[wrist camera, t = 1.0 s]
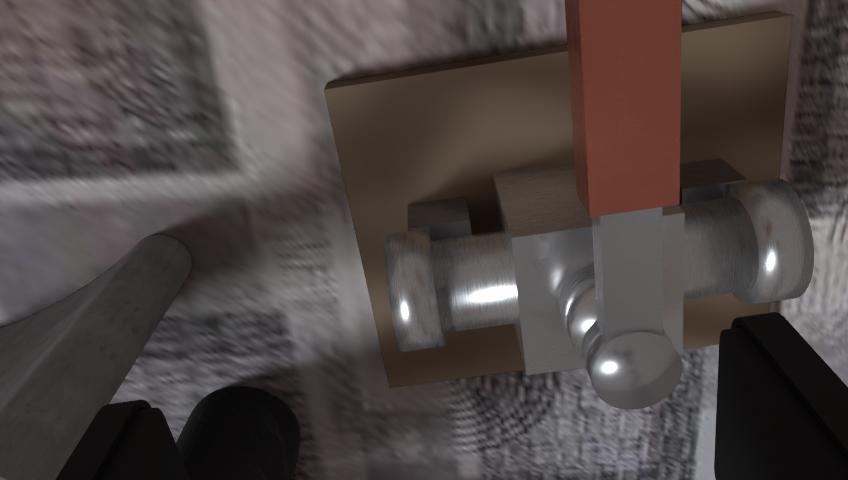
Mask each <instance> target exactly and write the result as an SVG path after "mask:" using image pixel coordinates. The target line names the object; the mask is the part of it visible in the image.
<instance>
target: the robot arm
mask: <svg viewBox="0 0 848 480" xmlns="http://www.w3.org/2000/svg"><path fill="white" fill-rule="evenodd" d="M714 470H715V478H716V480H848V387H847V386H846V385H845V384H844V383H843V382H842V380H841V379H840V378H839V377H838V376H837V375H836V374H835V373H834V372H833V371H832V369H831V368H830V367H829V366H828V365H827V364H826V363H825V362H824V361H823V360H822V358H821V357H820V356H819V355H818V354H817V353H816V352H815V351H814V350H813V348H812V347H811V346H810V345H809V344H808V343H807V342H806V341H805V340H804V339H803V337H802V336H801V335H800V334H799V333H798V332H797V331H796V330H795V329H794V328H793V326H792V325H791V324H790V323H789V322H788V321H787V320H786V319H785V318H784V317H783V316H782V315H781V314H780V313H777V312H772V313H765V314H758V315H750V316H743V317H737V318H735V319H734V320H733V322H732V324H731V329H724V330H722V331H721V334H720V341H719V365H718V389H717V414H716V438H715V462H714ZM55 480H191V479H190V476H189V474H188V472H187V469H186V467H185V464H184V462H183V460H182V457H181V455H180V452H179V450H178V448H177V445H176V443H175V441H174V438H173V436H172V433H171V431H170V429H169V426H168V424H167V422H166V419H165V417H164V415H163V413H162V411H161V410H160V409H159V408H151V406H150V404H149V403H148V402H147V401H145V400H136V401H129V402H122V403H114V404H107V405H105V406H103V407H102V408H101V409H100V410H99V411H98V412H97V414H96V416H95V417H94V419H93V420H92V422H91V423H90V425H89V427H88V428H87V430H86V431H85V433H84V435H83V436H82V438H81V439H80V441H79V443H78V444H77V446H76V447H75V449H74V451H73V452H72V454H71V455H70V457H69V459H68V460H67V462H66V463H65V465H64V466H63V468H62V470H61V471H60V473H59V474H58V476H57V478H56V479H55Z"/></svg>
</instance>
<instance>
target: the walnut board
mask: <svg viewBox="0 0 848 480" xmlns="http://www.w3.org/2000/svg"><path fill="white" fill-rule="evenodd" d="M792 16H793V15H790V14H786V13H783V12H779V11H773V12H767V13H761V14H754V15H748V16H742V17H735V18H729V19H723V20H717V21H710V22H704V23H698V24H692V25H685V26H682V32H681V115H680V164H684V163H690V162H697V161H704V160H711V159H717V158H722V159H723V160H724V161H726V162H727V163H728V164H729V165H730V166H732V167H733V168H734V169H735V170H737V171H738V172H739V173H740V174H742V175H743V176H744V177H745V178H747V181H754V180H761V179H768V178H779V176H780V164H781V151H782V139H783V127H784V115H785V102H786V90H787V78H788V65H789V53H790V41H791V28H792ZM324 93H325V98H326V102H327V107H328V111H329V116H330V120H331V125H332V129H333V134H334V138H335V143H336V147H337V152H338V156H339V161H340V165H341V170H342V174H343V179H344V183H345V188H346V192H347V197H348V201H349V206H350V210H351V215H352V219H353V224H354V228H355V233H356V237H357V242H358V246H359V251H360V255H361V260H362V264H363V269H364V273H365V278H366V283H367V287H368V292H369V296H370V301H371V305H372V310H373V314H374V319H375V323H376V328H377V332H378V337H379V341H380V346H381V350H382V355H383V359H384V364H385V368H386V373H387V377H388V382H389V386H390V388H394V387H401V386H409V385H416V384H424V383H431V382H439V381H446V380H454V379H461V378H469V377H476V376H484V375H491V374H499V373H506V372H514V371H521V370H525V367H524V363H523V359H522V355H521V351H520V346H519V342H518V338H517V334H516V330H515V326H514V324H506V325H499V326H492V327H485V328H477V329H470V330H463V331H456V332H448V333H445V346H442V347H435V348H427V349H420V350H413V351H405V352H402V351H401V350H400V347H399V345H398V342H397V338H396V334H395V330H394V325H393V320H392V315H391V309H390V303H389V296H388V289H387V281H386V271H385V256H384V241H385V235H386V234H392V233H399V232H406V231H408V204H415V203H421V202H428V201H435V200H441V199H448V198H455V197H462V196H466V201H467V207H468V213H469V218H470V225H471V232H472V235H473V234H480V233H487V232H494V231H499V226H498V217H497V209H496V200H495V192H494V183H493V175H492V173H499V172H506V171H512V170H519V169H526V168H532V167H539V166H546V165H552V164H559V163H566V162H572V161H574V146H573V129H572V113H571V96H570V79H569V63H568V46H567V45H560V46H554V47H548V48H542V49H535V50H529V51H523V52H516V53H510V54H504V55H498V56H491V57H485V58H479V59H473V60H466V61H460V62H454V63H448V64H441V65H435V66H429V67H423V68H416V69H410V70H404V71H398V72H391V73H385V74H379V75H373V76H366V77H360V78H354V79H348V80H341V81H335V82H329V83H327V85H326V87H325V89H324ZM768 311H769V302H765V303H757V304H750V305H747V304H743V303H741V302H740V301H739V300H737V298H736V297H735V296H734V295H733V294H725V295H718V296H710V297H703V298H696V299H688V300H683V349H686V348H694V347H701V346H709V345H716V344H719V341H720V334H721V331H722V330H724V329H731V324H732V322H733V320H734V319H735V318H737V317H743V316H750V315H758V314H765V313H768Z"/></svg>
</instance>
